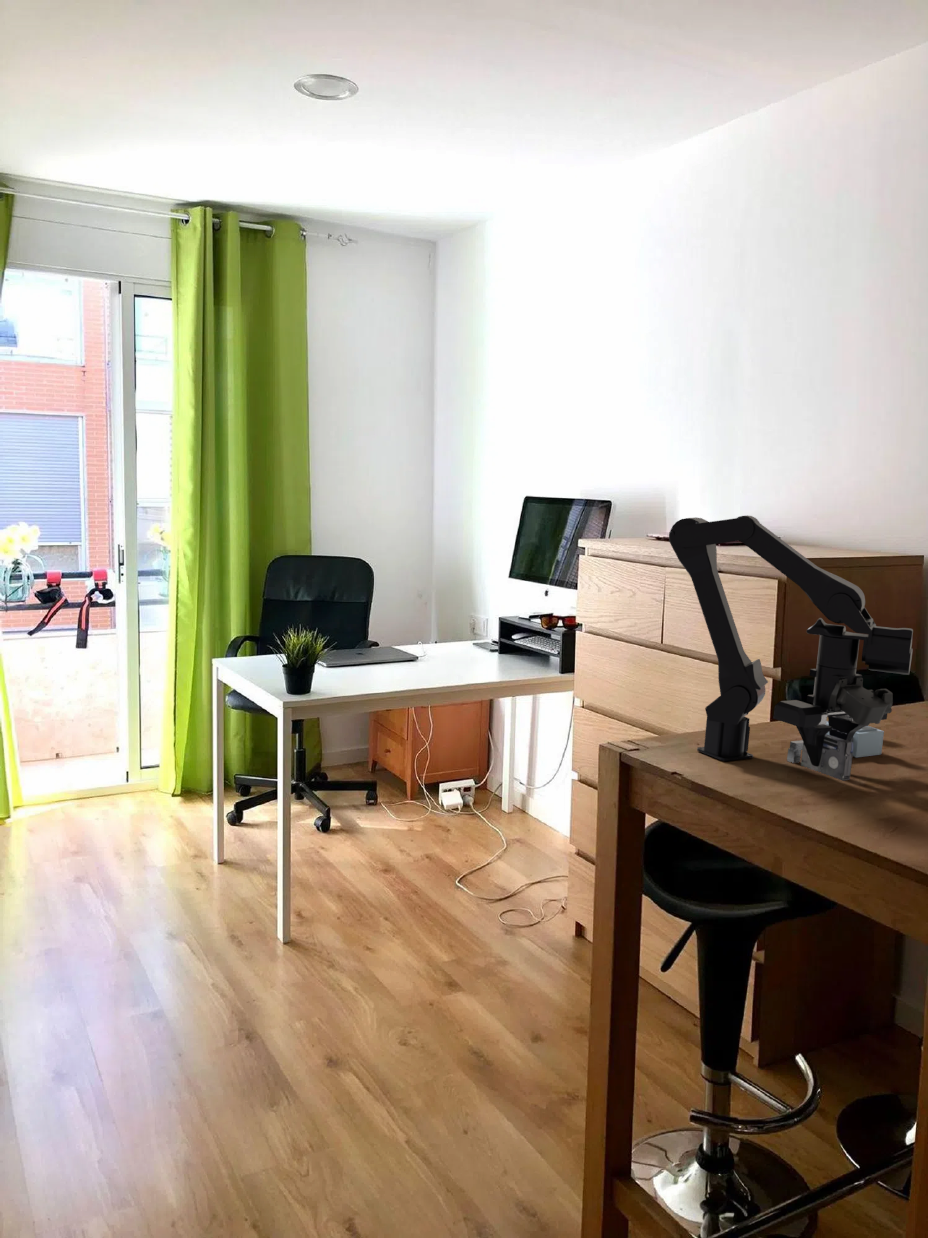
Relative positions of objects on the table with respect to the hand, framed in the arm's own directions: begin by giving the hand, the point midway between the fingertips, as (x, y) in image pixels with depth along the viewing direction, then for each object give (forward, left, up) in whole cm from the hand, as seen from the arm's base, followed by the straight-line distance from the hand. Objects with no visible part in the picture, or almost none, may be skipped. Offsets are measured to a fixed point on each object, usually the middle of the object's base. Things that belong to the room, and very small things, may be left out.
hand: (825, 764), depth 154 cm
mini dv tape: (0, 0, -2) cm, 2 cm away
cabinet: (+15, +8, -1) cm, 17 cm away
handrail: (+6, +6, -1) cm, 8 cm away
